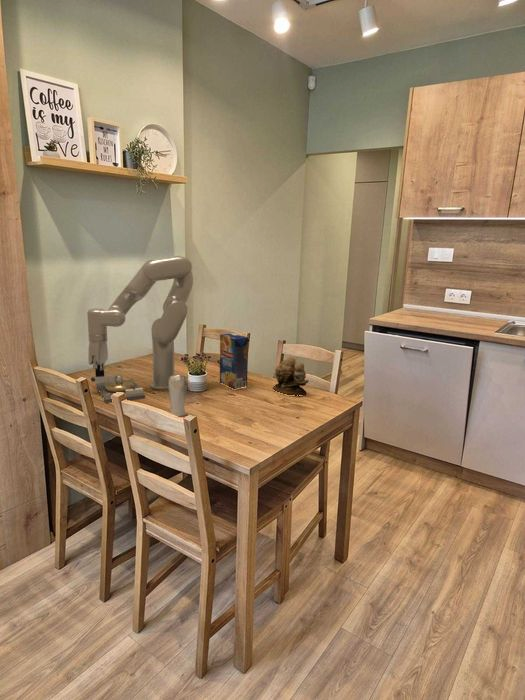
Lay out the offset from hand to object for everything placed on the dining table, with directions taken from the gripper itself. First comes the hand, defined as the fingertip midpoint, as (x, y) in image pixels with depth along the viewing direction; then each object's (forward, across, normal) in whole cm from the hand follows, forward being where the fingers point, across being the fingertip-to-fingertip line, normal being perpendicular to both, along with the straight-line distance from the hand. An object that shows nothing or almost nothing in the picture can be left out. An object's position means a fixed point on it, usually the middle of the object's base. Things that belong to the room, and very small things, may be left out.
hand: (100, 378), depth 195 cm
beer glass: (+6, +22, +40) cm, 46 cm away
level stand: (+6, 0, +9) cm, 10 cm away
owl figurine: (+6, -12, +84) cm, 85 cm away
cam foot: (+4, +1, +6) cm, 7 cm away
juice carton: (+6, -16, +57) cm, 59 cm away
